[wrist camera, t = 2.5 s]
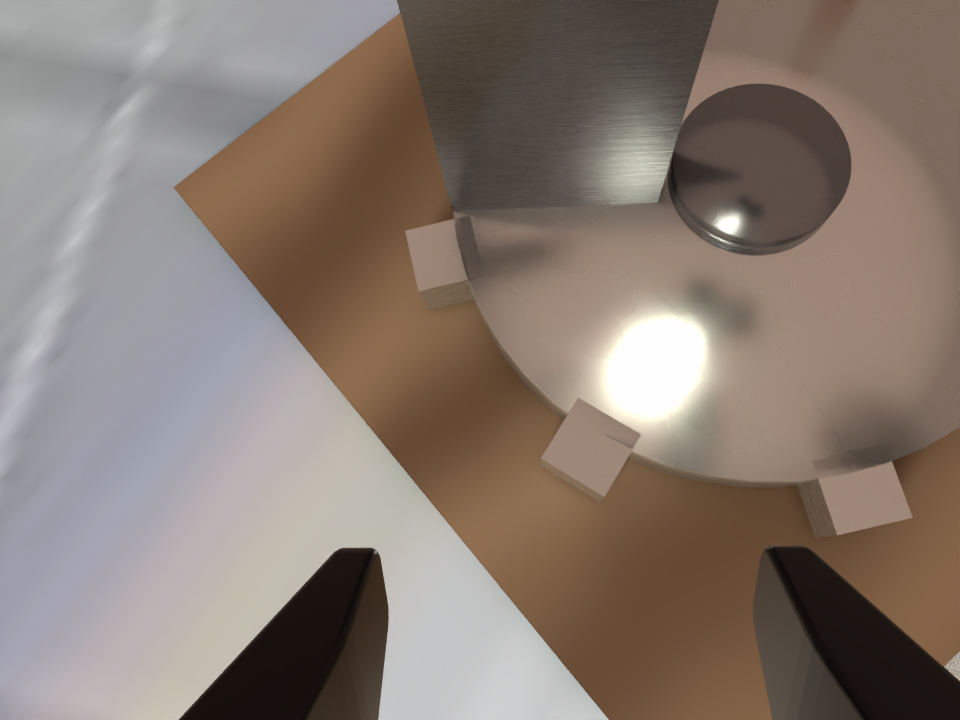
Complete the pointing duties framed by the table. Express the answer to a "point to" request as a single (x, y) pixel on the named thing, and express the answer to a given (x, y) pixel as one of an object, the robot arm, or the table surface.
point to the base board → (533, 421)
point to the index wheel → (708, 231)
